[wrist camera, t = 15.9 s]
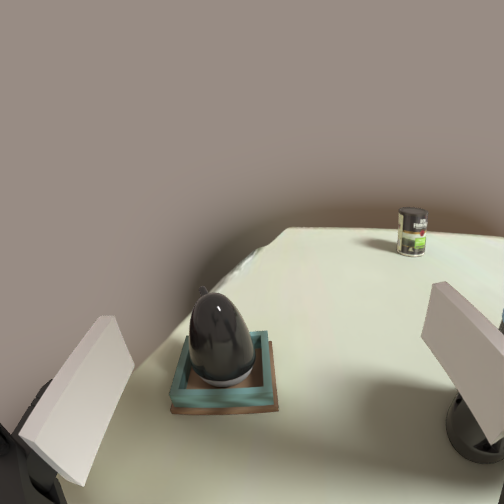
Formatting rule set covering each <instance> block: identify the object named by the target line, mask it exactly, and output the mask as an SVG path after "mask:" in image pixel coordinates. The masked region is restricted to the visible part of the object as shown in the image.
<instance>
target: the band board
mask: <svg viewBox="0 0 504 504" xmlns="http://www.w3.org/2000/svg"><path fill="white" fill-rule="evenodd" d="M250 335H251V338H252V341H253V344H254V347H255V352H256V360H255V363H254V365H253V368H252V370H251V372H250V374H249V375H248V376H247V378H246V379H244V380H243V381H242V382H240V383H239V384H236V385H234V386H230V387H217V386H213V385H210V384H208V383H207V382H205V381H204V380H203V379H202V378H201V377H200V376H199V375H197V374H196V373H195V371H194V370H193V368H192V365H191V361H190V354H189V336H186V339H185V342H184V345H183V348H182V352H181V355H180V358H179V362H178V365H177V369H176V372H175V375H174V379H173V382H172V386H171V389H170V393H169V396H170V398H171V400H172V405H171V409H170V411H171V413H172V414H193V415H224V414H249V413H264V412H276V411H279V409H278V398H277V389H276V379H275V369H274V359H273V350H272V341H268V332H267V331H256V332H250Z"/></svg>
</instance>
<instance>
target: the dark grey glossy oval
mask: <svg viewBox="0 0 504 504" xmlns="http://www.w3.org/2000/svg"><path fill="white" fill-rule="evenodd" d="M199 291H200V294H201V298H199V299H198V301H197V302H196V304H195V306H194V308H193V311H192V314H191V319H190V326H189V354H190V361H191V365H192V368H193V370H194V371H195V373H196V374H197V375H199V376H200V377H201V378H202V379H203V380H204V381H205V382H207V383H208V384H210V385H213V386H217V387H230V386H234V385H236V384H239V383H240V382H242V381H243V380H244V379H246V378H247V376H248V375H249V374H250V372H251V370H252V368H253V365H254V363H255V360H256V352H255V347H254V344H253V341H252V338H251V335H250V332H249V330H248V328H247V326H246V324H245V322H244V320H243V318H242V316H241V314H240V312H239V311H238V309H237V308H236V306H235V305H234V304H233V303H232V302H231V301H230V300H229V299H228V298H227V297H226V296H224V295H223V294H220V293H208V291H207V289H206V288H205V287H204V286H202V287H200V288H199Z"/></svg>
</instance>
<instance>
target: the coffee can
mask: <svg viewBox="0 0 504 504" xmlns="http://www.w3.org/2000/svg"><path fill="white" fill-rule="evenodd" d="M427 219H428V211H426V210H424V209H420V208H414V207H403V208H400V209H399V228H398V243H397V252H398V253H400V254H402V255H405V256H410V257H419V256H422V255H424V253H425V242H426V232H427Z"/></svg>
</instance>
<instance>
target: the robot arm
mask: <svg viewBox="0 0 504 504" xmlns="http://www.w3.org/2000/svg"><path fill="white" fill-rule="evenodd" d="M421 338H422V339H423V340H424V342H425V343H426V345H427V346H428V347H429V349H430V350H431V352H432V353H433V354H434V356H435V357H436V359H437V360H438V361H439V363H440V364H441V366H442V367H443V369H444V370H445V372H446V373H447V375H448V376H449V378H450V379H451V381H452V382H453V384H454V385H455V387H456V388H457V390H458V391H459V393H458V394H457V396H456V397H455V399H454V401H453V403H452V404H451V406H450V408H449V411H448V414H447V419H446V428H447V433H448V437H449V439H450V441H451V443H452V445H453V446H454V448H455V449H456V450H457V451H458V452H459V453H460V454H461V455H462V456H463V457H465V458H467V459H468V460H471V461H473V462H477V463H483V464H488V463H494V462H498V461H500V460H503V459H504V309H503V312H502V321H501V324H500V326H499V329H497V328H496V327H495V326H494V325H493V324H492V323H491V322H490V321H489V320H488V319H487V318H486V317H485V316H484V315H483V314H482V313H481V312H480V311H479V310H478V309H476V308H475V307H474V306H473V305H472V304H471V303H470V302H469V301H468V300H467V299H466V298H464V297H463V296H462V295H461V294H460V293H459V292H458V291H457V290H455V289H454V288H453V287H452V286H451V285H450V284H448V283H447V282H446V281H445V282H440V283H434V284H432V289H431V295H430V300H429V304H428V309H427V314H426V318H425V322H424V326H423V330H422V334H421ZM134 367H135V364H134V362H133V360H132V358H131V355H130V353H129V351H128V348H127V346H126V344H125V341H124V339H123V337H122V334H121V332H120V329H119V327H118V324H117V321H116V319H115V316H99V318H98V319H97V320H96V322H95V323H94V324H93V325H92V327H91V328H90V329H89V330H88V332H87V333H86V335H85V336H84V337H83V339H82V340H81V341H80V342H79V344H78V345H77V346H76V348H75V349H74V351H73V352H72V353H71V355H70V356H69V357H68V359H67V360H66V362H65V363H64V365H63V366H62V368H61V369H60V370H59V372H58V373H57V375H56V376H55V378H54V379H51V380H50V381H49V382H47V383H46V384H45V385H44V386H43V387H42V388H41V389H40V391H39V392H38V394H37V395H36V399H34V400H33V402H32V403H31V406H29V407H28V409H27V411H26V412H25V414H24V415H23V417H22V419H21V420H20V422H19V423H18V426H17V427H16V428H15V430H14V432H13V433H12V434H11V435H10V433H9V432H8V431H7V430H6V429H5V428H4V427H3V426H2V425H1V423H0V504H67V502H66V499H65V497H64V494H63V491H62V488H61V485H60V483H59V481H58V479H57V478H56V475H57V473H59V474H60V475H61V476H62V477H63V478H64V479H66V480H67V481H69V482H72V483H74V484H77V485H80V486H82V487H84V485H85V483H86V480H87V477H88V475H89V472H90V469H91V467H92V464H93V461H94V459H95V456H96V454H97V451H98V449H99V446H100V444H101V441H102V439H103V437H104V434H105V432H106V429H107V427H108V425H109V422H110V420H111V418H112V415H113V413H114V411H115V408H116V406H117V404H118V402H119V399H120V397H121V395H122V393H123V390H124V388H125V386H126V384H127V382H128V379H129V377H130V375H131V373H132V371H133V369H134ZM498 504H504V484H503V488H502V492H501V495H500V499H499V502H498Z"/></svg>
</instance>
